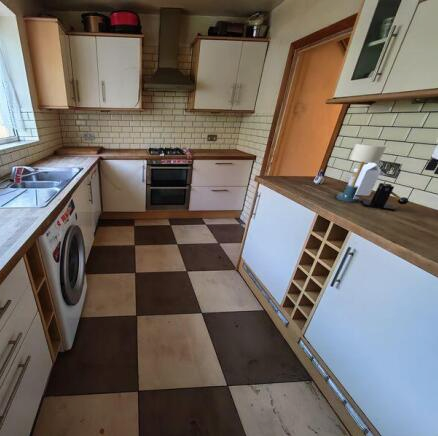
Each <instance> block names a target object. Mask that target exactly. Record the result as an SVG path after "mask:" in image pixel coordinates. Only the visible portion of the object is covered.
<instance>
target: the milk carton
mask: <svg viewBox="0 0 438 436" xmlns="http://www.w3.org/2000/svg"><path fill="white" fill-rule="evenodd" d="M380 175H381V170H380V168H379V166H378V164H377V163H369V162H367V163H366V164H364V165H363V167H362V170H361V172H360V174H359V176H358V179H357V181H356V183H355V185H356V186H358V189H357V191H356V193H355V196H364V197H370V195H371V193H372V191H373V189H374V187H375V185H376V183H377V181H378V179H379V177H380Z"/></svg>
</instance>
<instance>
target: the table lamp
mask: <svg viewBox="0 0 438 436" xmlns="http://www.w3.org/2000/svg"><path fill="white" fill-rule="evenodd" d="M386 148H387V145H384V144H378V143H367V142H366V143H365V142H356V143H355V144H354V146H353V149H352V151H351V154H350V156H349V160H351V161H356V162H360V164H359V166H358V171H357V173H356V175H355V178H354V180H353V182H352V185H348V184H346V186H345V188H344V191H343V192H340V193H339V192H338V193H337V194H336V196H335V198H336V199H337V200H339V201H342V202H347V203H359V201H360V200H361V199H360V197H359V195H355V193H356V191H357V189H358V186H356V185H355V183H356V181H357V179H358V176H359V174H360V172H361V170H362V167H363V166H364V165H365V163H376V164H377V163H380V161H381V159H382V157H383V154H384V152H385V151H386Z"/></svg>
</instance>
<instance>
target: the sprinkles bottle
mask: <svg viewBox="0 0 438 436" xmlns="http://www.w3.org/2000/svg"><path fill="white" fill-rule="evenodd" d="M358 168H359V167H358ZM358 168H357V167H356V168H355V167H354V169H353V172H352V175H351V176H350V179H349V181H348V184H347V185H352V182H353V180H354V178H355V175H356V173H357V171H358Z"/></svg>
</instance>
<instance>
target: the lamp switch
mask: <svg viewBox="0 0 438 436" xmlns="http://www.w3.org/2000/svg"><path fill="white" fill-rule="evenodd" d="M385 184H386V183H384V185H385ZM380 188H381V187H380ZM390 195H392V196H394V197H395V198H396V199H397V203H398V204H400V205H407V204H408V203H409V198H407V197H403V196H402V197H401V196H399V195H398V194H397V193H395V192H393V191H392V192H391V194H390Z"/></svg>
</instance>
